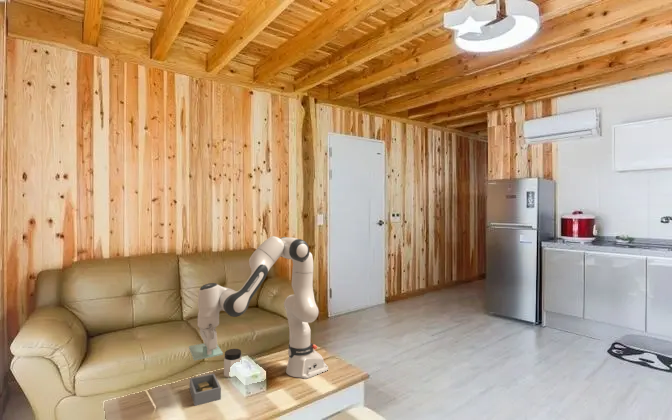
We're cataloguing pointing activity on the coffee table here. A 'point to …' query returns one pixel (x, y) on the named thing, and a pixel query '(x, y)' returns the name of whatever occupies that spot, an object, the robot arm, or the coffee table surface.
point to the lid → (203, 352)
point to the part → (202, 386)
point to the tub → (205, 395)
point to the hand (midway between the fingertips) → (208, 352)
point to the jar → (231, 359)
